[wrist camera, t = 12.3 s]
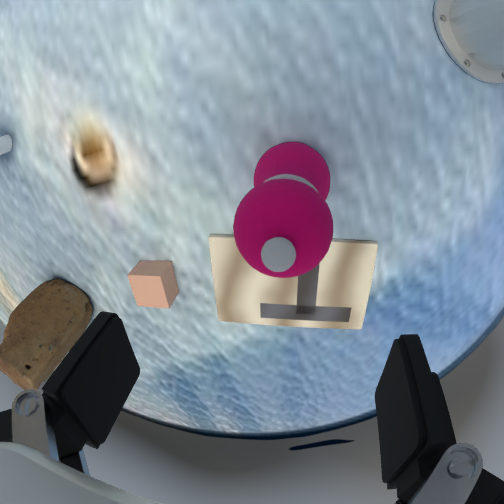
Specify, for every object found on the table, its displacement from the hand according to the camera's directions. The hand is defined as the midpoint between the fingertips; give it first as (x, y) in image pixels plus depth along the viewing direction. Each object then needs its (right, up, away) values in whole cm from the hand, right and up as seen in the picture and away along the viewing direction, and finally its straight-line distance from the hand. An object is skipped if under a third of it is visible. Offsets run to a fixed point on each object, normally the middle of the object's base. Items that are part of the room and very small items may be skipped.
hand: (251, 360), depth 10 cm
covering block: (-13, 0, +33) cm, 35 cm away
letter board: (+5, 0, +29) cm, 30 cm away
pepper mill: (+5, +12, +23) cm, 26 cm away
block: (-32, -4, +39) cm, 51 cm away
